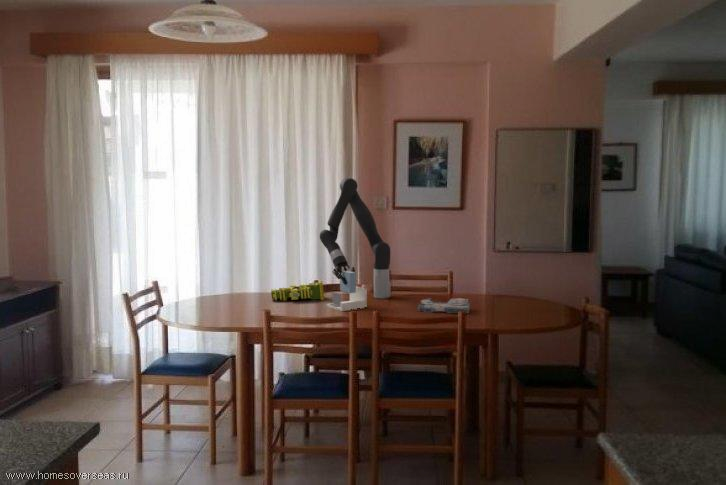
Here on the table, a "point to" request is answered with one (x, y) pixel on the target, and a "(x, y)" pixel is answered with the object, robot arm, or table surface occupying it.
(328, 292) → the table surface
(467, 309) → the futuristic firearm
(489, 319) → the table surface
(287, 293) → the toy
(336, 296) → the white open holder
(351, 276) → the light blue rectangular block
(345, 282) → the robot arm
